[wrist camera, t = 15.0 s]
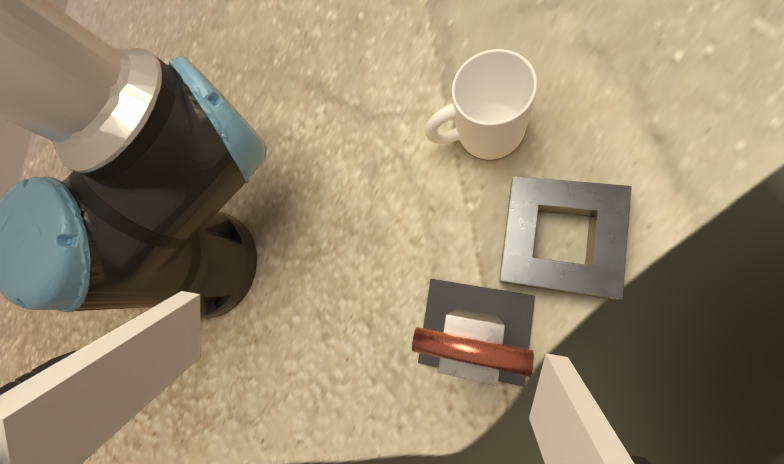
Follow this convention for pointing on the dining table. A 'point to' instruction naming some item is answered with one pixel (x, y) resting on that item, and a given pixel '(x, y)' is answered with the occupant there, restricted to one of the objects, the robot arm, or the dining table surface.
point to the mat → (504, 304)
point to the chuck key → (473, 347)
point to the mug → (488, 104)
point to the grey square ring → (603, 241)
